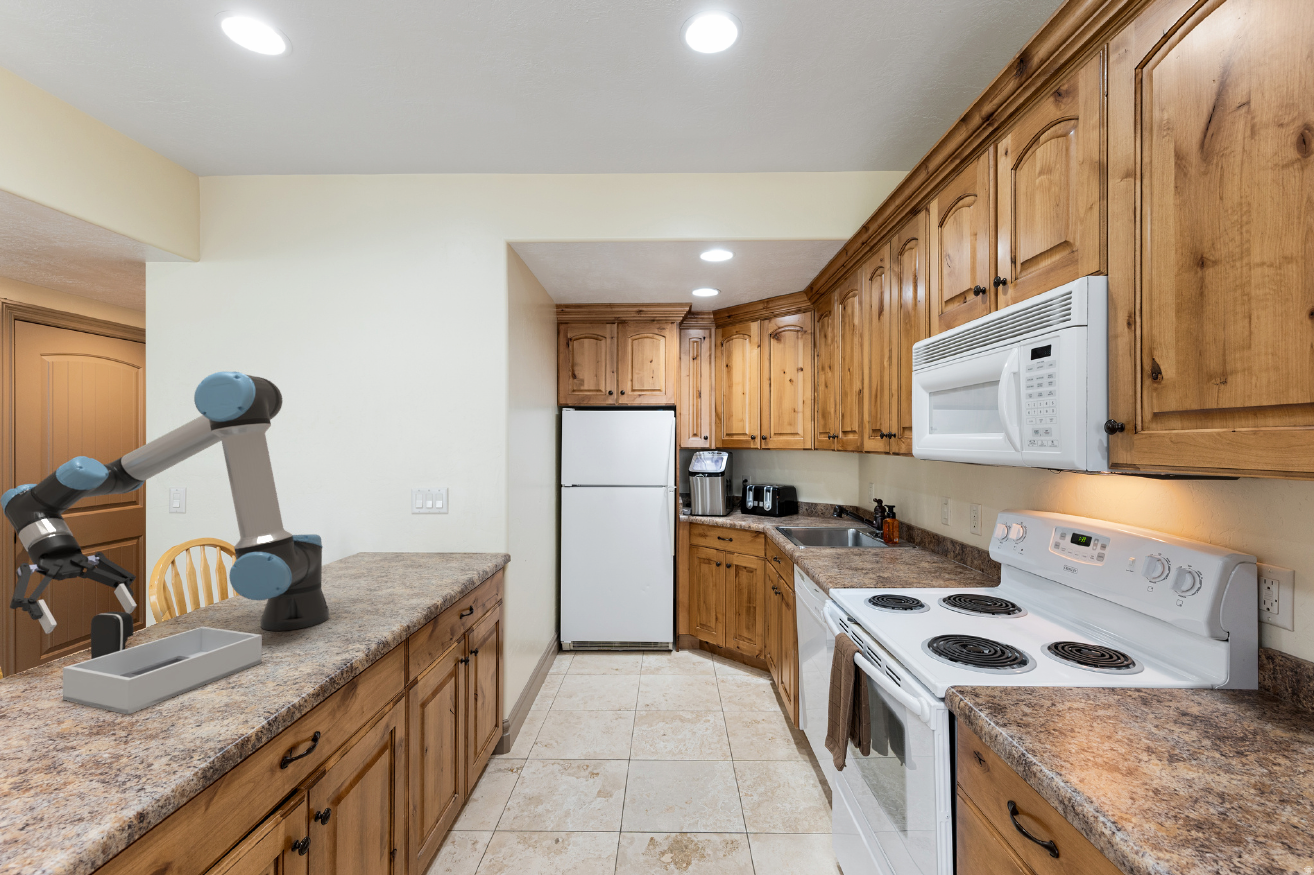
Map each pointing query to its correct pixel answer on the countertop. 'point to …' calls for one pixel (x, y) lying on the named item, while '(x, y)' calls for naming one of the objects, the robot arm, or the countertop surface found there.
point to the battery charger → (110, 633)
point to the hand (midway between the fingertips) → (94, 619)
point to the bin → (160, 669)
